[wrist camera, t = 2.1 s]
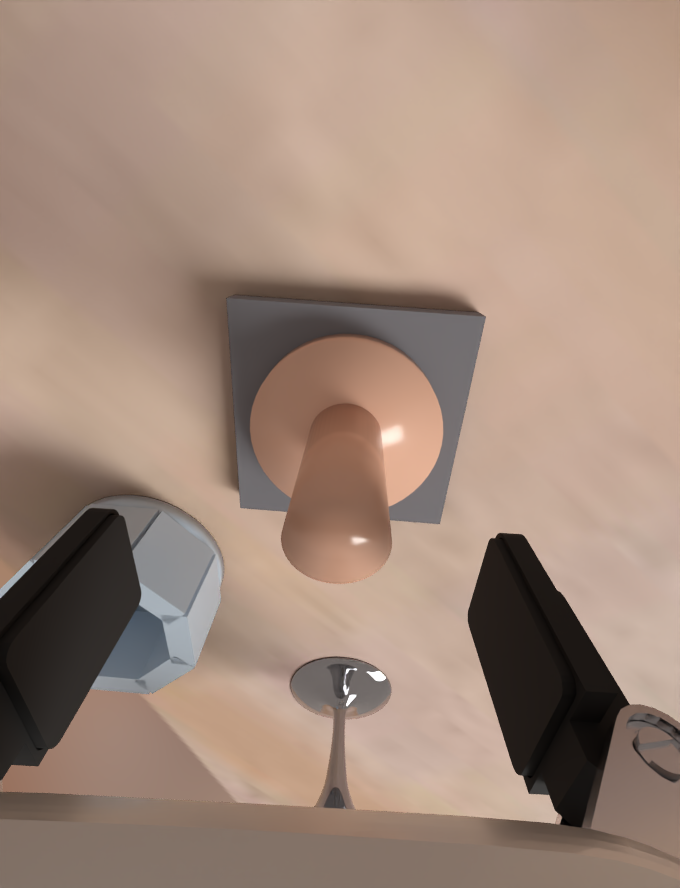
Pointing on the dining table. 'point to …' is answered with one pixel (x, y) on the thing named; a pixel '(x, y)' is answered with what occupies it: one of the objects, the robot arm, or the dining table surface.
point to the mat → (409, 329)
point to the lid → (344, 449)
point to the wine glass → (339, 710)
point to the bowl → (159, 594)
